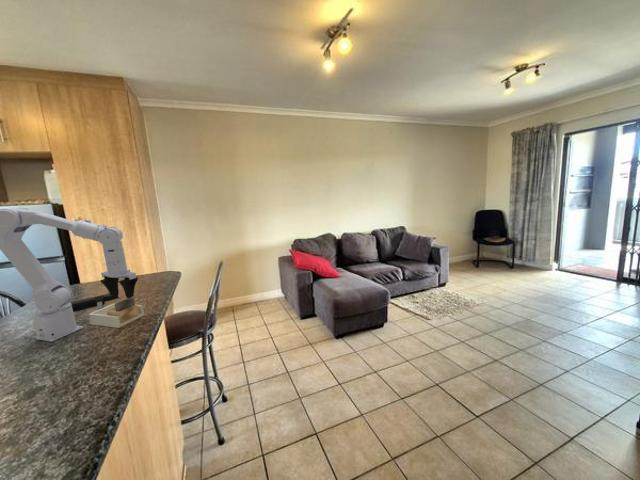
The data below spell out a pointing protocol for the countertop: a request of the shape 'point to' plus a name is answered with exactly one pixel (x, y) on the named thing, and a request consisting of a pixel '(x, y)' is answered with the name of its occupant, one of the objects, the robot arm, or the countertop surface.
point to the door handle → (91, 302)
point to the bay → (111, 317)
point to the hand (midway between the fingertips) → (122, 296)
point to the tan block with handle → (124, 309)
